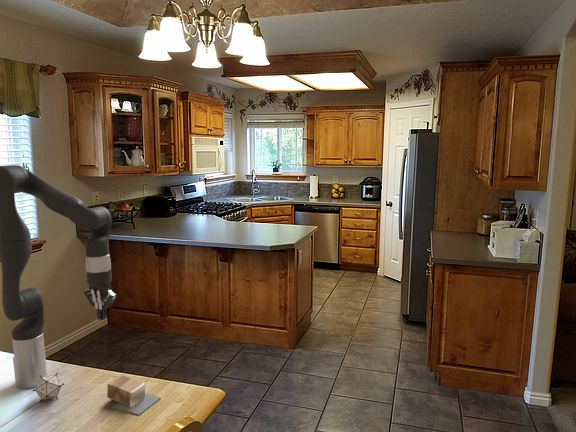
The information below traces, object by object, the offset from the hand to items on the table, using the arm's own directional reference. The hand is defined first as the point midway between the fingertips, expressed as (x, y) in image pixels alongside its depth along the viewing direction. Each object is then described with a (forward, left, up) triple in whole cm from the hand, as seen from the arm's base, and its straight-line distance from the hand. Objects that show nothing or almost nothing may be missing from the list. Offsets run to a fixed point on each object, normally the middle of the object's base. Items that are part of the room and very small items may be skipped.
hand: (102, 319), depth 148 cm
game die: (-12, -12, -25) cm, 30 cm away
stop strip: (+9, -3, -25) cm, 26 cm away
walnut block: (+7, -3, -21) cm, 22 cm away
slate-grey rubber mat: (+16, -3, -25) cm, 29 cm away
